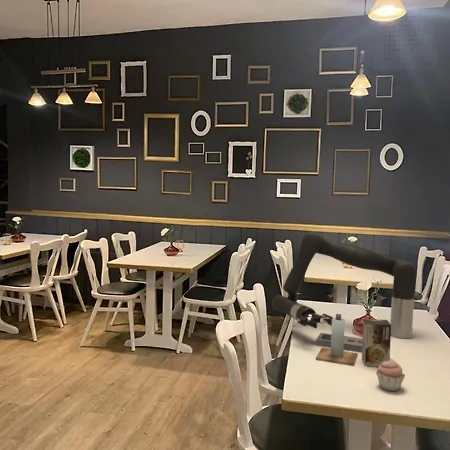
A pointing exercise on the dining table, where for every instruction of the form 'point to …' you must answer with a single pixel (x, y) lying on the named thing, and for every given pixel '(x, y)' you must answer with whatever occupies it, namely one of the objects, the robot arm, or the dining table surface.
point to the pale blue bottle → (337, 336)
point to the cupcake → (390, 375)
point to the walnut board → (347, 357)
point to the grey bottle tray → (349, 342)
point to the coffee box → (376, 342)
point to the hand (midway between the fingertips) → (325, 324)
